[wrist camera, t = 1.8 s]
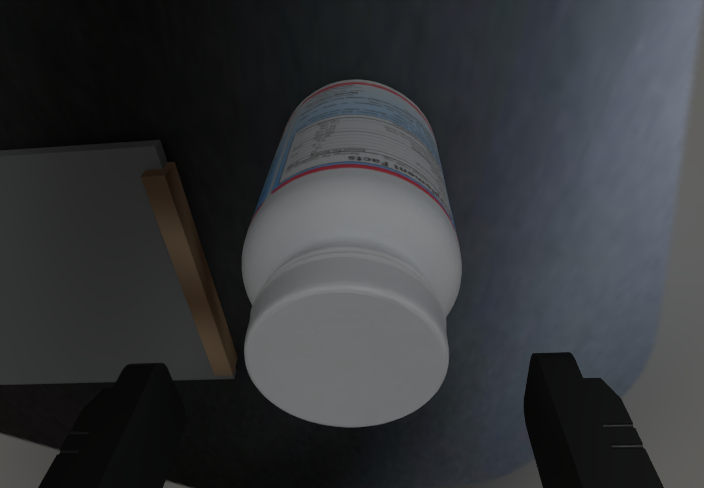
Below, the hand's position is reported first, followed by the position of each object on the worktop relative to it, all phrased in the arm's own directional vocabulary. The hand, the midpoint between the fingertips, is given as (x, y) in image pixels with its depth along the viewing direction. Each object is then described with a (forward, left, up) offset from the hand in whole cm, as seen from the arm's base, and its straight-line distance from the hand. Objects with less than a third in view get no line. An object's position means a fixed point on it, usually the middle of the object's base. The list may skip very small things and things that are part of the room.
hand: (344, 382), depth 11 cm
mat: (+6, -15, -11) cm, 20 cm away
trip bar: (+6, -8, -11) cm, 15 cm away
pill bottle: (0, 0, -12) cm, 12 cm away
